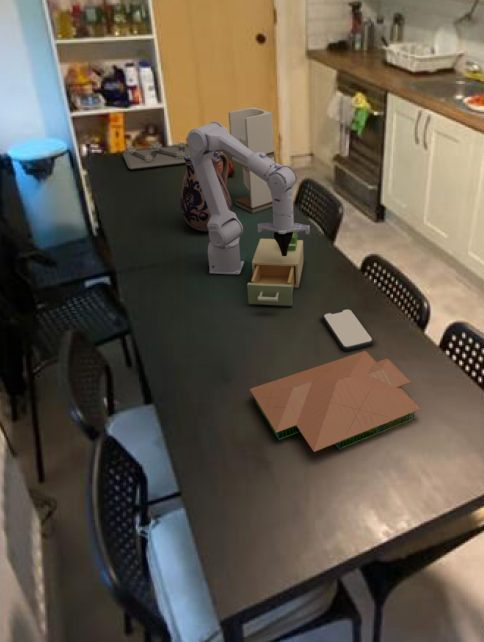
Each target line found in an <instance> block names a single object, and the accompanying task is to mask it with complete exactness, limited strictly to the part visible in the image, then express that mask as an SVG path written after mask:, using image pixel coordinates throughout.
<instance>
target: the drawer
mask: <svg viewBox="0 0 484 642" xmlns="http://www.w3.org/2000/svg"><path fill="white" fill-rule="evenodd" d="M294 283H295V266H276V265H256V268H255V271H254V274H253V273H252V277H251V282H247V285H246V288H247V299H248V300H247V301H248V304H249V305H271V306H293V303H294V302H293V291H294V288H295V287H294Z"/></svg>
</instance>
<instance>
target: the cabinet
mask: <svg viewBox="0 0 484 642" xmlns="http://www.w3.org/2000/svg"><path fill="white" fill-rule="evenodd" d="M256 265H276V266H295V283H294V287H293V288H297V289H298V288H299V286H300V282H301V277H302V272H303V266H304V239H297V246H296V251H292V250H288V251H287V256H282V254H281V250H280V248H279V245H278V244H277V242H276V240H275V239H274V238H260V239H259V242H258V244H257V246H256V250H255V253H254V255H253V258H252V261H251V268H252V269H251V271H252V275H253V274H254V271H255V268H256Z"/></svg>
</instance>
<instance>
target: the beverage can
mask: <svg viewBox="0 0 484 642" xmlns="http://www.w3.org/2000/svg"><path fill="white" fill-rule="evenodd" d="M228 162H229V169H228V177H232V176H234V175H235V173H236V172H235V165H234V163H233V160H228ZM218 169H219V172H220V174H221V176H222V171H223V161H222V160H220V161H219V162H218Z"/></svg>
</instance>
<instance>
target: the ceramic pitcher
mask: <svg viewBox="0 0 484 642" xmlns="http://www.w3.org/2000/svg"><path fill="white" fill-rule="evenodd" d="M184 160H185V161H186V164H185V166H186V169H185V172H184V177H183V180H182V186H181V192H180V199H179V200H180V203H179V204H180V211H181V215H182V216H183V219H184V221H185V222H186V223H187V224H188V225H189V226H190V227H191V228H193V229H195V230H197V231H200V232H208V233H209V230H208V227H207V224H208V222H209V219H210V217H211V214H210V212H209V209H208V206H207V203H206V200H205V198H204V195H203V192H202V189H201V187H200V184H199V181H198V178H197V175H196V173H195V170H194V167H193V164H192V162H191V159H190V154H189V155H186V156H185V157H184ZM211 160H212V163H213V166H214V169H215V172H216V175H217V178H218V181H219V183H220V186H221V189H222V192H223V195H224V198H225V201H226V204H227V207H228V210H229V211H231V212H232V211H233V205H232V199H231V196H230V193H229V190H228V188H227V184H228V169H229V162H228V161H229V159H228V156H227V155H226V153H225V152H224V151H215V152H214V154H213V156H212V158H211ZM221 161H223V171H222V176H221V174H220V172H219V169H218V162H221Z"/></svg>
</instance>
